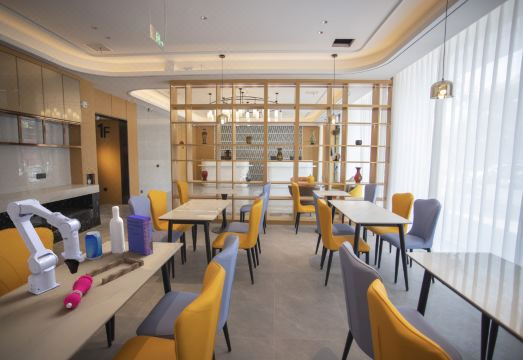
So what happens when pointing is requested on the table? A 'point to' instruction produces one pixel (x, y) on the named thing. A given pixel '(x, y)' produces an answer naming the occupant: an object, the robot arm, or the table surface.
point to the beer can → (93, 245)
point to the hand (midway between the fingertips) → (74, 273)
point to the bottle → (116, 232)
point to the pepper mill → (78, 291)
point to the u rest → (133, 261)
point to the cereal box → (140, 234)
